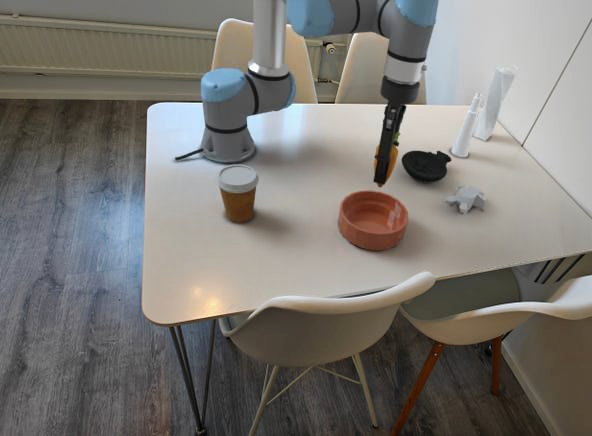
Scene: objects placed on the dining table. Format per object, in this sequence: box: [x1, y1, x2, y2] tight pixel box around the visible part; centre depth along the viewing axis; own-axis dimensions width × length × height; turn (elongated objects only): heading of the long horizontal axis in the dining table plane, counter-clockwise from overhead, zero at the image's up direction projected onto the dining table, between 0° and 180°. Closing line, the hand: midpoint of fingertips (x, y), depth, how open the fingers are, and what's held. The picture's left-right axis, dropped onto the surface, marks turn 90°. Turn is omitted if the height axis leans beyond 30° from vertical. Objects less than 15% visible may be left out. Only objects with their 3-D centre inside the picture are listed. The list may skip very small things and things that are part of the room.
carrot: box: [373, 131, 401, 188], centre depth 91 cm, size 5×5×15 cm
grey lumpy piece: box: [442, 185, 487, 215], centre depth 117 cm, size 10×5×15 cm
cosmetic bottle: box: [450, 92, 483, 158], centre depth 136 cm, size 6×6×22 cm
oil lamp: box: [401, 150, 452, 184], centre depth 127 cm, size 15×20×5 cm
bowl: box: [337, 189, 409, 251], centre depth 102 cm, size 17×17×6 cm
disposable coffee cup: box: [215, 163, 260, 223], centre depth 97 cm, size 10×10×12 cm
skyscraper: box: [472, 64, 519, 142], centre depth 148 cm, size 8×8×28 cm
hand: (381, 176), depth 93 cm, fingers closed on carrot, 5 cm apart
